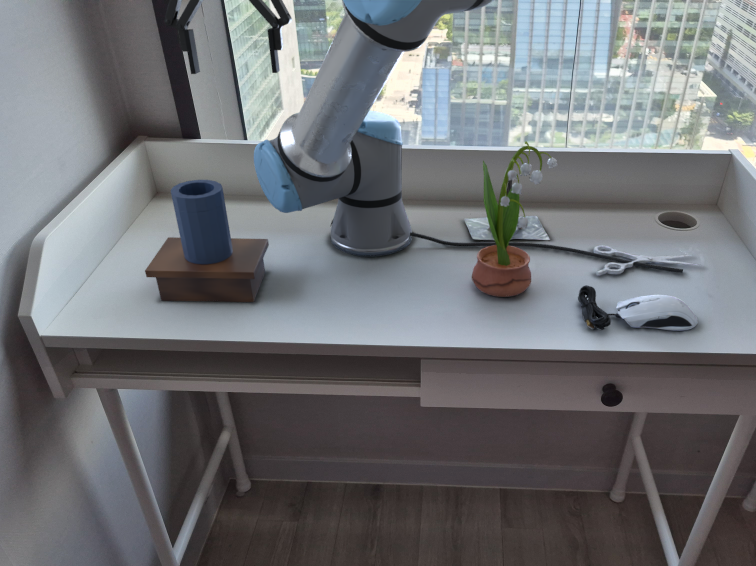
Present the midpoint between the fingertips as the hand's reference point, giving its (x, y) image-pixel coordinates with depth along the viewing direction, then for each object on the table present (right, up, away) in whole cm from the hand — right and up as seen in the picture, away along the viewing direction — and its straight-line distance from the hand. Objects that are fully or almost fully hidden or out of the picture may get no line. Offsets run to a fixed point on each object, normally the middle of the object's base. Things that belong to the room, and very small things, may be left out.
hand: (235, 72), depth 117 cm
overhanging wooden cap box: (-3, -36, -1) cm, 36 cm away
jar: (-3, -31, -4) cm, 32 cm away
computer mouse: (+65, -42, -7) cm, 78 cm away
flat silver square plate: (+48, -23, +19) cm, 56 cm away
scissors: (+72, -31, +8) cm, 79 cm away
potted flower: (+46, -36, 0) cm, 58 cm away
